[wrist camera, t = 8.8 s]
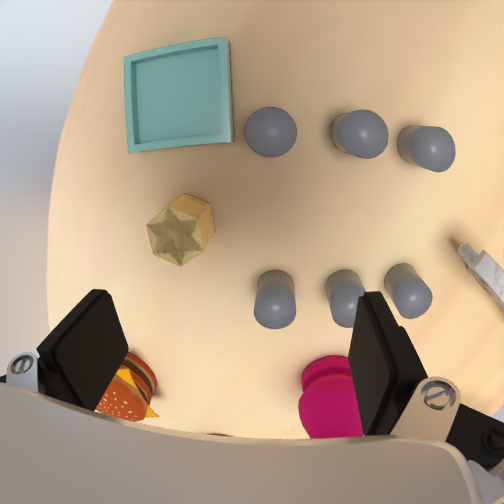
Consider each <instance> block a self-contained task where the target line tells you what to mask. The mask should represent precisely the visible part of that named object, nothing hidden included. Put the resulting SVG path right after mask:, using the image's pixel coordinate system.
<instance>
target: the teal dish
mask: <svg viewBox="0 0 504 504" xmlns="http://www.w3.org/2000/svg"><path fill="white" fill-rule="evenodd" d="M124 88H125V111H126V127H127V140H128V151H129V153H134V152H140V151H147V150H154V149H162V148H170V147H179V146H189V145H199V144H211V143H224V142H234V128H233V109H232V88H231V67H230V44H229V41H228V39H227V38H226V37H220V38H212V39H205V40H198V41H192V42H186V43H181V44H176V45H171V46H166V47H161V48H157V49H153V50H148V51H144V52H140V53H137V54H133V55H129V56H126V57H124Z"/></svg>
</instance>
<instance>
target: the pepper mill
mask: <svg viewBox="0 0 504 504" xmlns="http://www.w3.org/2000/svg"><path fill="white" fill-rule="evenodd" d="M302 388H303V394H302V396H301V397H300V400H299V405H298V408H299V415H300V420H301V422H302V425H303V427H304V428H305V430H306V432H307V433H308V435H309V437H310V438H311V439H324V438H342V437H359V436H363V430H362V425H361V419H360V414H359V409H358V404H357V399H356V394H355V389H354V384H353V380H352V375H351V371H350V366H349V360H348V358H345V357H341V356H329V357H324V358H321V359H319V360H316V361H314V362H313V363H311V364H310V365H309V366H308V367H307V368H306V369H305V371H304V373H303V375H302Z"/></svg>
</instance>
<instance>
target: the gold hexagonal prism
mask: <svg viewBox="0 0 504 504" xmlns="http://www.w3.org/2000/svg"><path fill="white" fill-rule="evenodd" d="M147 230H148V234H149V239H150V243H151V247H152V251H153V254H154V255H156V256H159V257H161V258H163V259H165V260H167V261H169V262H172V263H174V264H176V265H178V266H180V267H181V266H182V265H184V264H185V263H187V262H188V261H189V260H191V259H192V258H194V257H195V256H196V255H198V254H199V253H201V252H202V251H203V250H204V249H205V247H206V246H207V244H208V242H209V241H210V239H211V238H212V236H213V234H214V233H215V227H214V221H213V215H212V208H211V204H208V203H206V202H204V201H201V200H199V199H197V198H194V197H192V196H190V195H187V194H184V195H183V196H181V197H180V198H178V199H177V200H176V201H174V202H173V203H172V204H170V205H169V206H168V207H166V208H165V209H164V210H163V211H162V212H160V213H159V214H158V215H157V216H156V217H155V218H153V219H152V220H151V221H150V222H149V223H148V224H147Z"/></svg>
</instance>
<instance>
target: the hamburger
mask: <svg viewBox="0 0 504 504" xmlns="http://www.w3.org/2000/svg"><path fill="white" fill-rule="evenodd" d="M156 386H157V381H156V379H155V376H154V373H153V372H152V371H151V370H150V368H149V367H148V366H147V365H146V364H145V363H144V362H143V361H142V360H140V359H139V358H138V357H136V356H135V355H133V354H131V353H129V352H128V354H127V356H126V357H125V359H124V361H123V362H122V364H121V366H120V367H119V369H118V371H117V373H116V374H115V376H114V378H113V379H112V381H111V383H110V385H109V386H108V388H107V390H106V391H105V393H104V395H103V397H102V398H101V400H100V402H99V404H98V406H97V407H96V410H97V411H99V412H100V413H102V414H105V415H108V416H112V417H116V418H120V419H124V420H128V421H132V422H135V421H140V420H143V419H144V418H145V417H159V415H157V414H156V413H154V412H153V410H152V409H151V408H150V407H149V405H150V401H151V396H153V395H154V393H155V390H156Z"/></svg>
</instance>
